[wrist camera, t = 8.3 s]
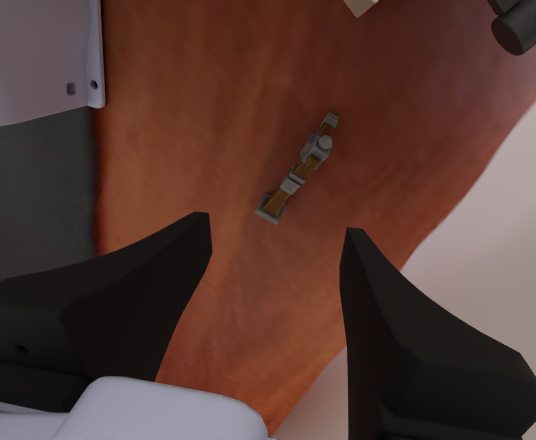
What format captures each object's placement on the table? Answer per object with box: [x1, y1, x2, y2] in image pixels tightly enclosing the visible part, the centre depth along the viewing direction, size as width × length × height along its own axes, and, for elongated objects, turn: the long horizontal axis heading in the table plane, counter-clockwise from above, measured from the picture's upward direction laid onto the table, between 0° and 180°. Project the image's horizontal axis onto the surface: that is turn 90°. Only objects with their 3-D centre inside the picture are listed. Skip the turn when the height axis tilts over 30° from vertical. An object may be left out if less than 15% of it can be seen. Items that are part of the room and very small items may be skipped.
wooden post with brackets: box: [255, 109, 339, 225], centre depth 19 cm, size 2×8×4 cm, turn 151°
